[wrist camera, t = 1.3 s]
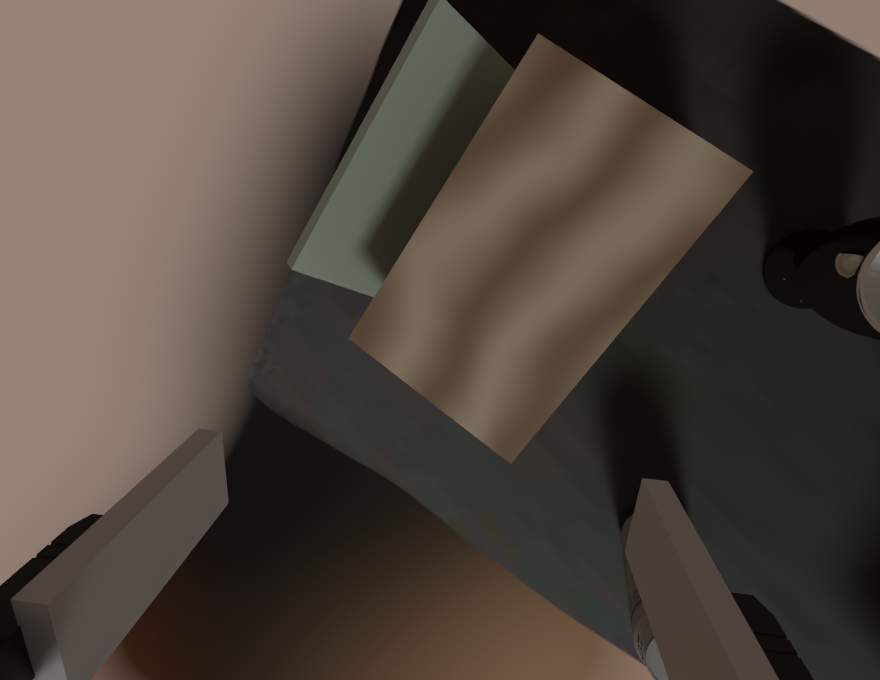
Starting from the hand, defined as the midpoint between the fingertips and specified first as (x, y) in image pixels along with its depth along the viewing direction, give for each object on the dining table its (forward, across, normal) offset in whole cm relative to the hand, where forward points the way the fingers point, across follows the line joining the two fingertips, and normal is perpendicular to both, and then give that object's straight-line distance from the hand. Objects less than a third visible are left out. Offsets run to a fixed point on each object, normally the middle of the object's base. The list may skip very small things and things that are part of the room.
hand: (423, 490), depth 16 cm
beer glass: (+28, -26, -4) cm, 38 cm away
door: (+32, +1, -6) cm, 33 cm away
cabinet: (+31, -6, -2) cm, 32 cm away
